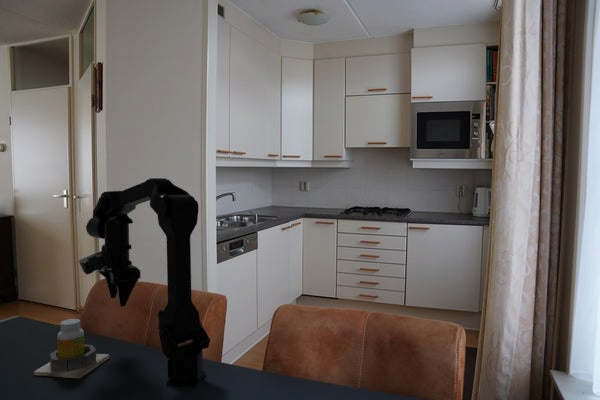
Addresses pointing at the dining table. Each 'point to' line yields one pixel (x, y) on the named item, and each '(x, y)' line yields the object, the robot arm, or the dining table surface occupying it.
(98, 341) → the dining table surface
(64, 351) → the supplement bottle
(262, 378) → the dining table surface
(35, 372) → the collar
